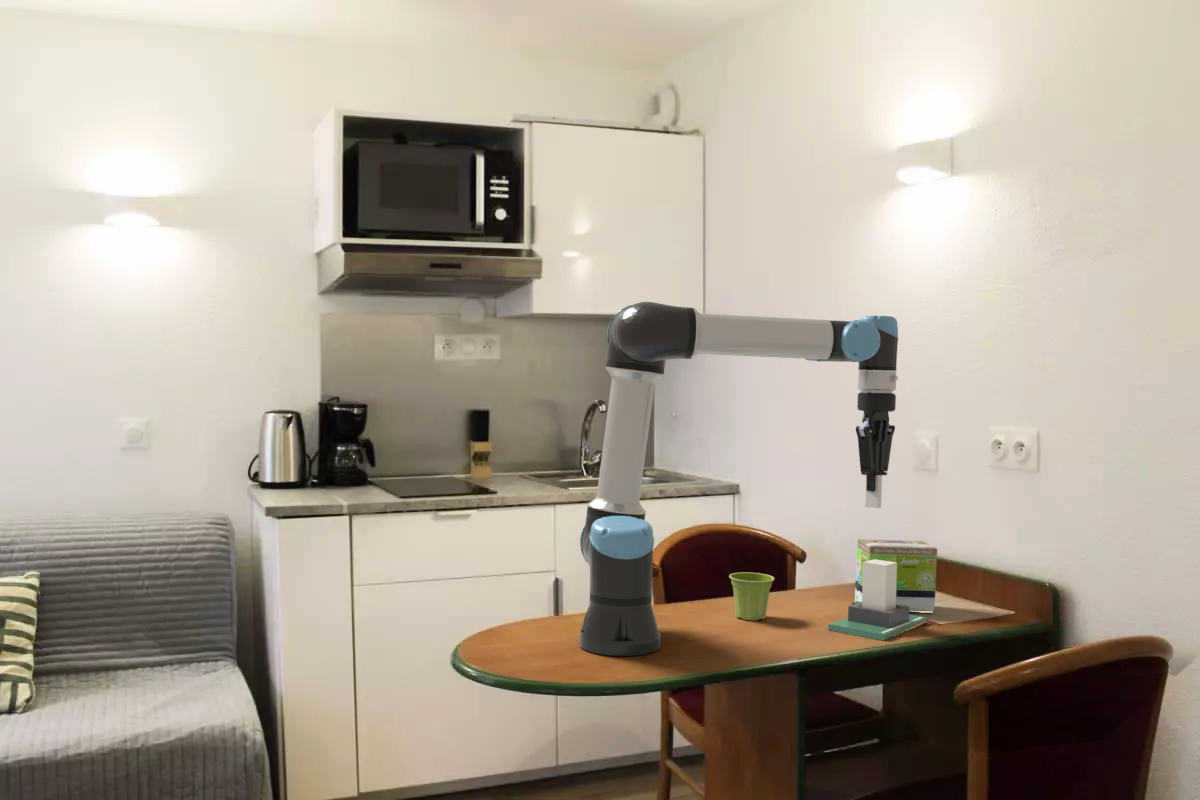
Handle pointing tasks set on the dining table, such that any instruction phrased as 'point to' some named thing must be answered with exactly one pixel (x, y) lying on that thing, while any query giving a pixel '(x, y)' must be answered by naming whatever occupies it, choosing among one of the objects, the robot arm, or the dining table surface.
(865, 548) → the tea box
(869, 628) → the board
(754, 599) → the plant pot
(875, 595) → the plug
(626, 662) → the dining table surface
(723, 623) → the dining table surface
